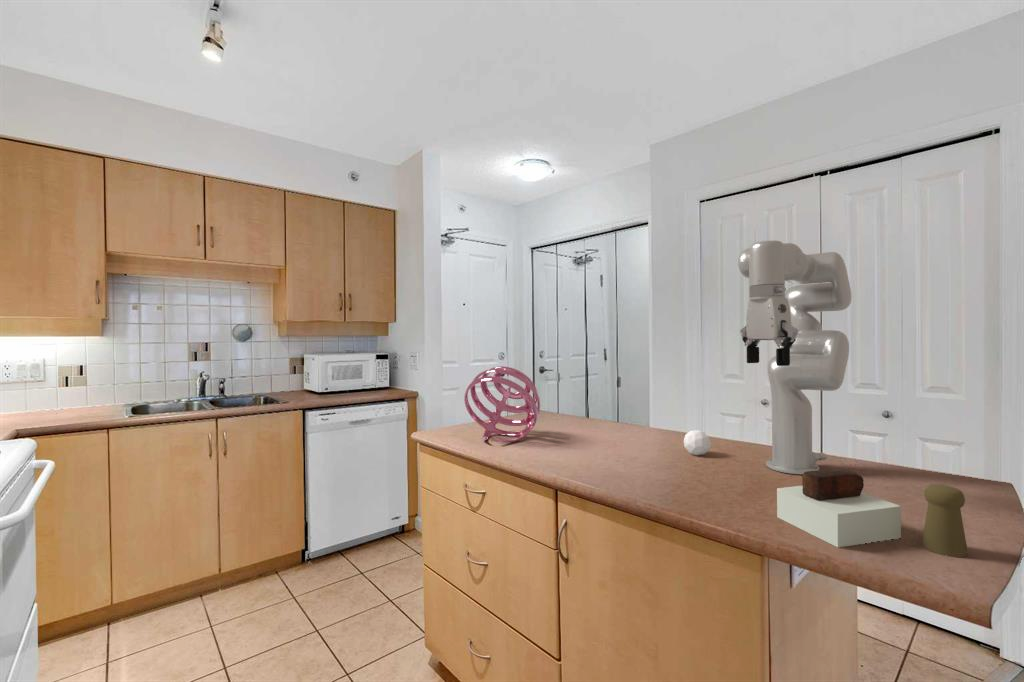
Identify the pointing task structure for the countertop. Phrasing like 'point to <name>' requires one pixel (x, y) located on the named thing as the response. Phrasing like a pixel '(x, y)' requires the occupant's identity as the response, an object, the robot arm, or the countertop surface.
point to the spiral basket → (504, 402)
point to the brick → (832, 484)
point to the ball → (697, 442)
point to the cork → (944, 521)
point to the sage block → (840, 517)
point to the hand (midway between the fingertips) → (767, 364)
